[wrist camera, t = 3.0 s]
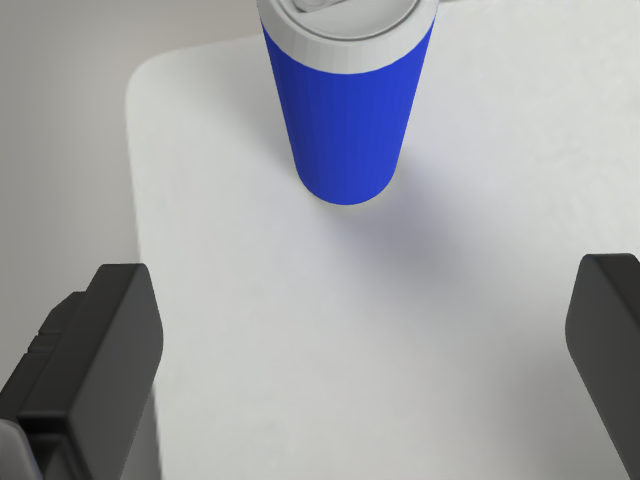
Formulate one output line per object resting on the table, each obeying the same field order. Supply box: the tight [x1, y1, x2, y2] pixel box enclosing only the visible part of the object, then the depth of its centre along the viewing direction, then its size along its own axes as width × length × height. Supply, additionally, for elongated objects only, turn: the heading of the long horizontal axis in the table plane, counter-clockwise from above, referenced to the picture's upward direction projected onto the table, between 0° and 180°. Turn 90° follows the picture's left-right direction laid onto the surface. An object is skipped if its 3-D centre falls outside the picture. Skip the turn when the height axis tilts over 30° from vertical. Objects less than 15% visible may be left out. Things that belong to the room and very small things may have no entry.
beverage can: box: [257, 0, 439, 205], centre depth 23 cm, size 5×5×15 cm
